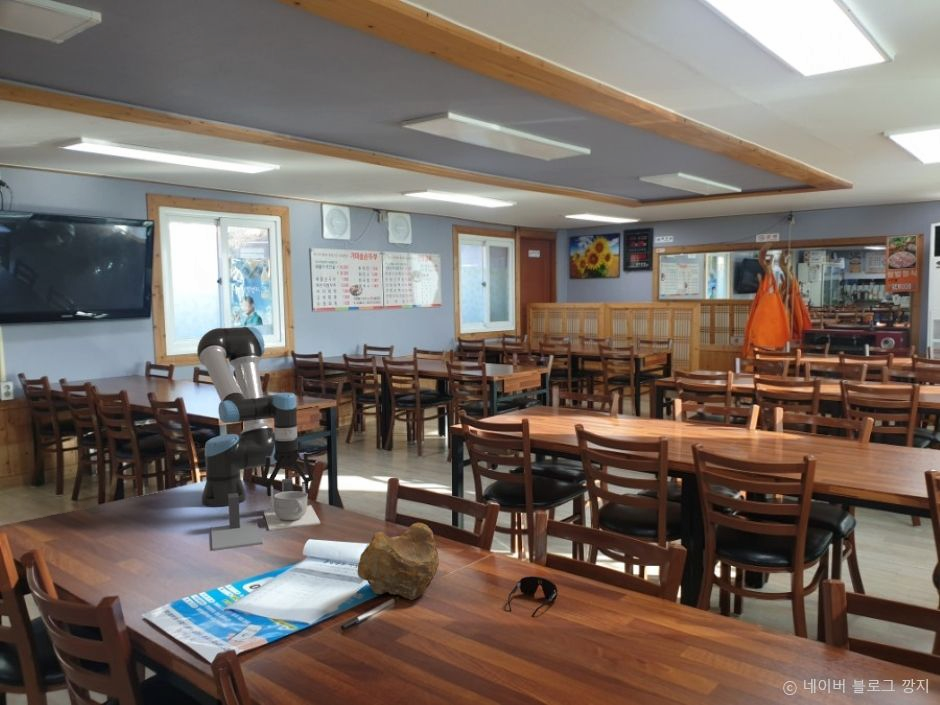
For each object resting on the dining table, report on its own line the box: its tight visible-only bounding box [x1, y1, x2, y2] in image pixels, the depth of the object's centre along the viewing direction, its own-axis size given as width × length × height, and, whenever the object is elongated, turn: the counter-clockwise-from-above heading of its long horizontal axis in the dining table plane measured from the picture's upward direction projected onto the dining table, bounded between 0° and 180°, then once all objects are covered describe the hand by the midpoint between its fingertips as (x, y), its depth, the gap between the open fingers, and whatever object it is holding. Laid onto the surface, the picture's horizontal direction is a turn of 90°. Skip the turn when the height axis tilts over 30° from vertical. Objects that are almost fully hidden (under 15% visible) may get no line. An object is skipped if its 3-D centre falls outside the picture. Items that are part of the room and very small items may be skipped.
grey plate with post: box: [263, 478, 321, 532], centre depth 233 cm, size 21×16×11 cm
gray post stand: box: [210, 493, 263, 551], centre depth 216 cm, size 21×14×11 cm, turn 21°
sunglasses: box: [507, 575, 559, 616], centre depth 167 cm, size 10×12×5 cm
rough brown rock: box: [357, 522, 440, 601], centre depth 175 cm, size 23×17×15 cm
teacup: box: [273, 490, 309, 520], centre depth 230 cm, size 14×11×8 cm
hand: (288, 503), depth 240 cm, fingers open, 10 cm apart
